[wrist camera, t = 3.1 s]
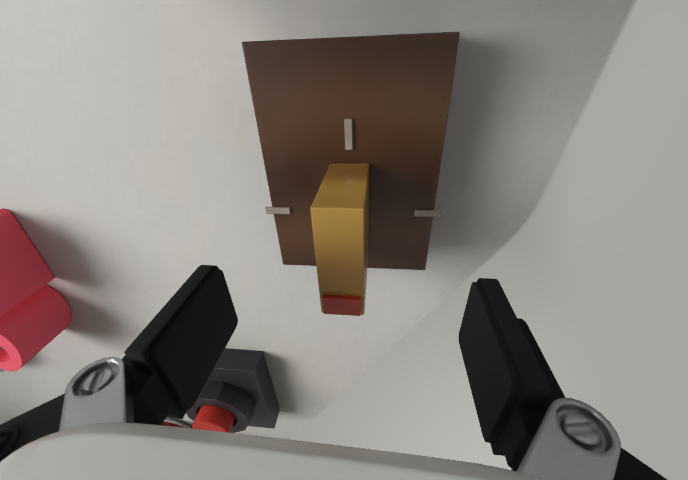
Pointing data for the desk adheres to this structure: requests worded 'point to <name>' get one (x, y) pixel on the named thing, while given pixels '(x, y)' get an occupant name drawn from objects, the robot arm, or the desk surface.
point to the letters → (25, 298)
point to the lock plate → (354, 133)
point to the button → (214, 419)
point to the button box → (240, 390)
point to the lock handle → (342, 237)
